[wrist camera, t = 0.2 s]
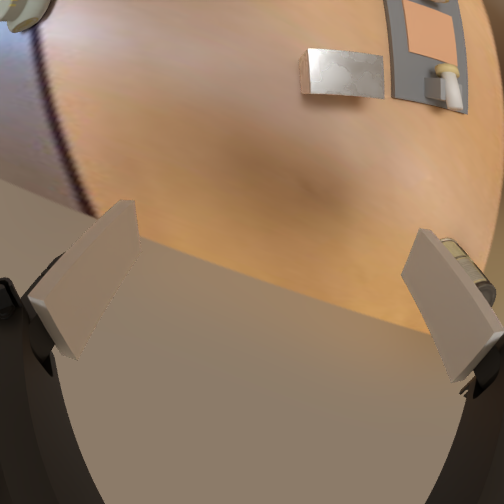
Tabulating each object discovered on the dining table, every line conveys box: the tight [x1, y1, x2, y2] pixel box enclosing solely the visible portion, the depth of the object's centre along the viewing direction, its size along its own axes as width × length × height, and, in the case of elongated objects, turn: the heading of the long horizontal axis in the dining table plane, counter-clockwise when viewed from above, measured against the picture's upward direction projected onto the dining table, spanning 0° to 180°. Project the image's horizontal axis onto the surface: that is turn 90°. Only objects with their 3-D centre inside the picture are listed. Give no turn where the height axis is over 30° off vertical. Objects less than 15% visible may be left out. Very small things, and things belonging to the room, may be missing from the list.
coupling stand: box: [383, 0, 468, 114], centre depth 19 cm, size 24×14×8 cm, turn 4°
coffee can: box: [440, 238, 496, 307], centre depth 37 cm, size 10×10×14 cm
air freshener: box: [0, 0, 50, 33], centre depth 14 cm, size 11×8×10 cm
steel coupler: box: [299, 48, 384, 99], centre depth 25 cm, size 5×8×9 cm, turn 94°
